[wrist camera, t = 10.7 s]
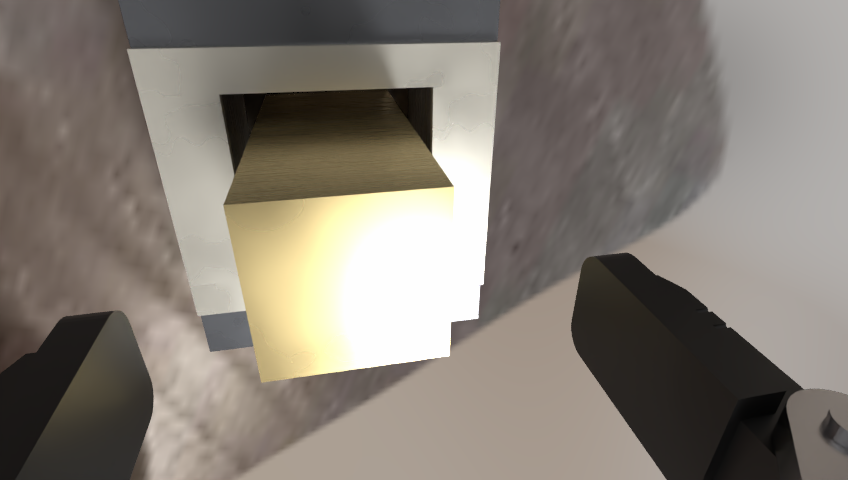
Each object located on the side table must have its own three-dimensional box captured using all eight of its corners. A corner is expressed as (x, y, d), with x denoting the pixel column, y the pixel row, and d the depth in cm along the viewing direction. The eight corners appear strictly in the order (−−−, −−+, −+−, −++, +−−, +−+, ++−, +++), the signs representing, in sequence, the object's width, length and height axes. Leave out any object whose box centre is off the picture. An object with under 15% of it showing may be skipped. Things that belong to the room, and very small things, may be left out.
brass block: (266, 94, 18) (223, 205, 9) (386, 89, 18) (454, 186, 10) (282, 205, 20) (261, 382, 11) (390, 197, 20) (449, 355, 12)
